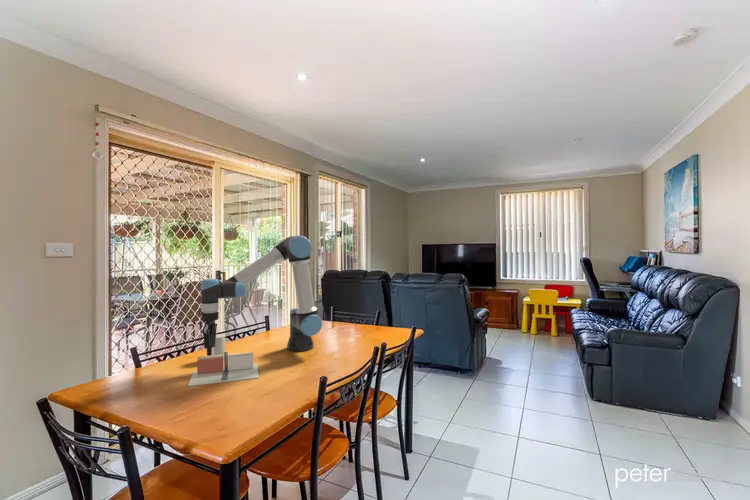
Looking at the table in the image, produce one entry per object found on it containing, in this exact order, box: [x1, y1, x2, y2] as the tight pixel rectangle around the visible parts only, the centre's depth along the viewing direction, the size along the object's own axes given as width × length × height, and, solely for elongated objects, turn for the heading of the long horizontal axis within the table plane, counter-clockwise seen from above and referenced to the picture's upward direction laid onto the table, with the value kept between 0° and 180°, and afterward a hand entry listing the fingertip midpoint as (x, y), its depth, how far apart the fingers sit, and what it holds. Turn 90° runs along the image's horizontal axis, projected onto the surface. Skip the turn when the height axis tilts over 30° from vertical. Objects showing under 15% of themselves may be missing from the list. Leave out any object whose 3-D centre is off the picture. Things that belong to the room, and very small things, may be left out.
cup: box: [214, 333, 226, 361], centre depth 183 cm, size 8×8×12 cm
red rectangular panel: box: [196, 355, 224, 374], centre depth 162 cm, size 11×2×7 cm, turn 110°
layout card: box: [187, 363, 259, 388], centre depth 160 cm, size 28×20×1 cm
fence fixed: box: [223, 351, 254, 371], centre depth 166 cm, size 13×2×9 cm, turn 110°
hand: (210, 361), depth 166 cm, fingers closed
